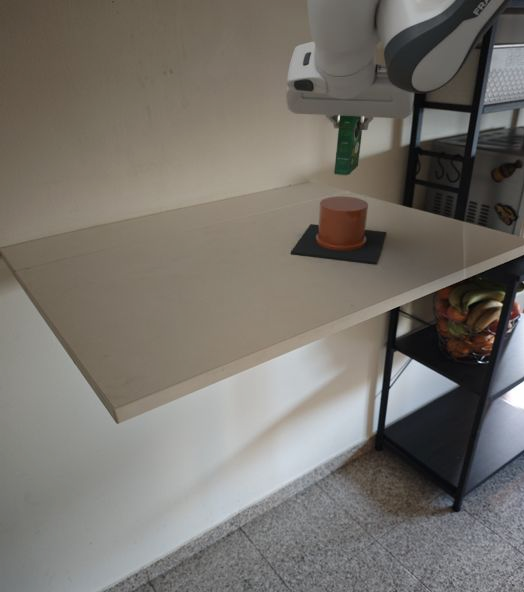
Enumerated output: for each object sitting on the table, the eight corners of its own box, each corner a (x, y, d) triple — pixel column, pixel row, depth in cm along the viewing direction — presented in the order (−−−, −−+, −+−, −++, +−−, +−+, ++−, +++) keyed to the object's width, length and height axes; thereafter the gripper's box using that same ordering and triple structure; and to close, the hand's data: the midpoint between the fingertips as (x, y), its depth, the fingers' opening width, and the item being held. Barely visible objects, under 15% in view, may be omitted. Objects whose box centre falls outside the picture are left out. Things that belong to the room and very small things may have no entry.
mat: (386, 234, 102) (386, 231, 102) (376, 264, 90) (376, 262, 89) (310, 226, 107) (310, 223, 106) (290, 254, 94) (290, 251, 94)
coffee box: (343, 164, 94) (351, 86, 87) (358, 166, 93) (368, 87, 86) (332, 174, 88) (340, 91, 80) (348, 176, 87) (358, 92, 80)
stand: (369, 235, 100) (373, 198, 96) (361, 253, 93) (366, 214, 89) (321, 230, 103) (323, 193, 99) (310, 247, 95) (312, 208, 91)
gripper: (422, 47, 71) (415, 112, 85) (285, 46, 77) (299, 107, 90) (415, 86, 70) (409, 145, 83) (276, 82, 76) (291, 138, 89)
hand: (351, 125), depth 87 cm, fingers closed on coffee box, 3 cm apart
